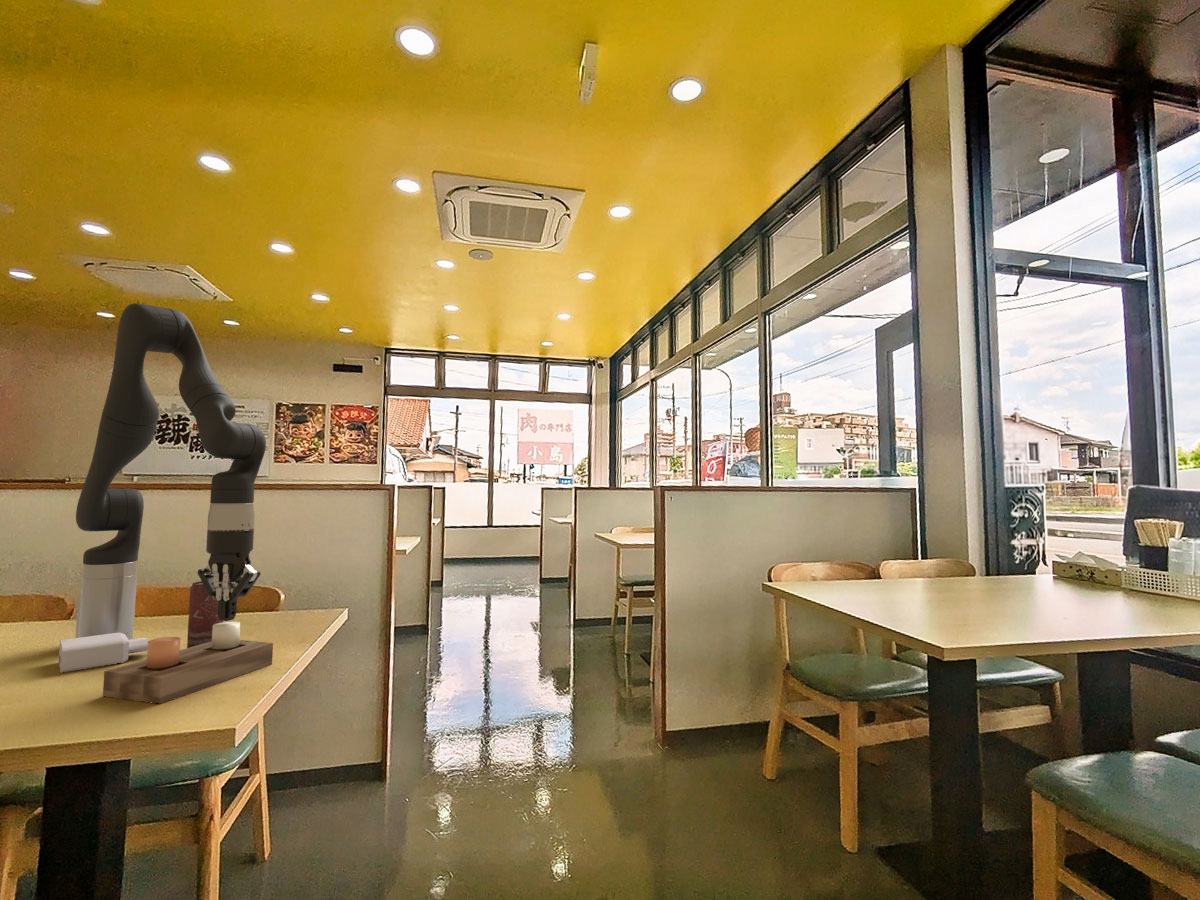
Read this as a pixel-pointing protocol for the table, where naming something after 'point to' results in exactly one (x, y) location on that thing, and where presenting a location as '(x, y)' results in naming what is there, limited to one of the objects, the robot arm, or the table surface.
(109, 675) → the button panel
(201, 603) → the can
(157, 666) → the terracotta button
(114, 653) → the charger
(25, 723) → the table surface
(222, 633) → the offwhite button
